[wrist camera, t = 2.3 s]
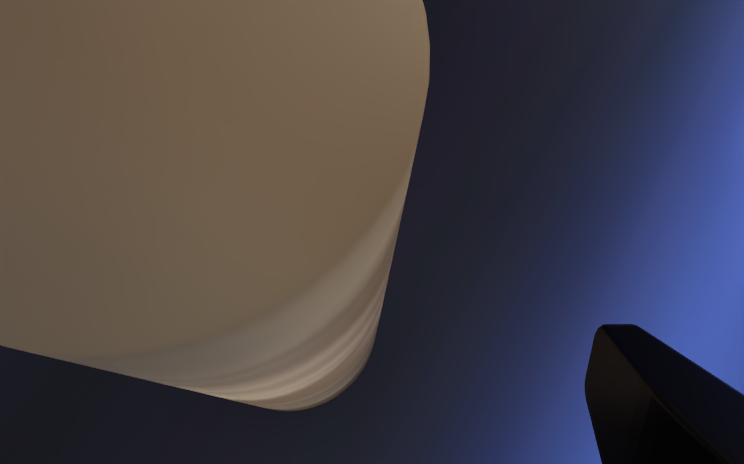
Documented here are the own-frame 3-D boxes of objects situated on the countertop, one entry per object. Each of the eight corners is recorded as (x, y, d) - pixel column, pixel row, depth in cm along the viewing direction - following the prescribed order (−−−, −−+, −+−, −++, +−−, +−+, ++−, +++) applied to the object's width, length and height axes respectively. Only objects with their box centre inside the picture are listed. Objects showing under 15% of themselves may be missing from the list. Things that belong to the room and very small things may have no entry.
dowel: (337, 438, 16) (280, 468, 4) (176, 371, 17) (-335, 207, 4) (400, 277, 18) (510, -87, 5) (249, 217, 18) (11, -255, 6)
